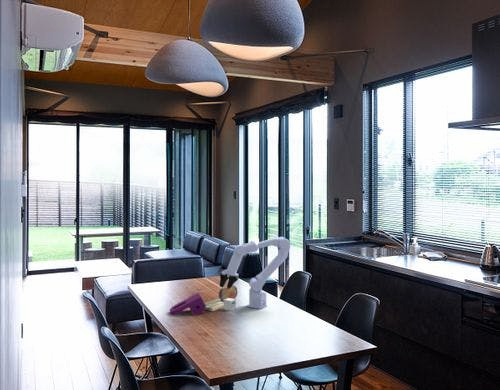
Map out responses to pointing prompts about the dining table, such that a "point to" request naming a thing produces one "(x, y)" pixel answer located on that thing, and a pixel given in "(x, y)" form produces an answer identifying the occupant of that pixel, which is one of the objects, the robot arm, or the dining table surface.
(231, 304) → the white block
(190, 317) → the dining table surface
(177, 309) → the mounting bracket
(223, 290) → the tin
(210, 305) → the rail
